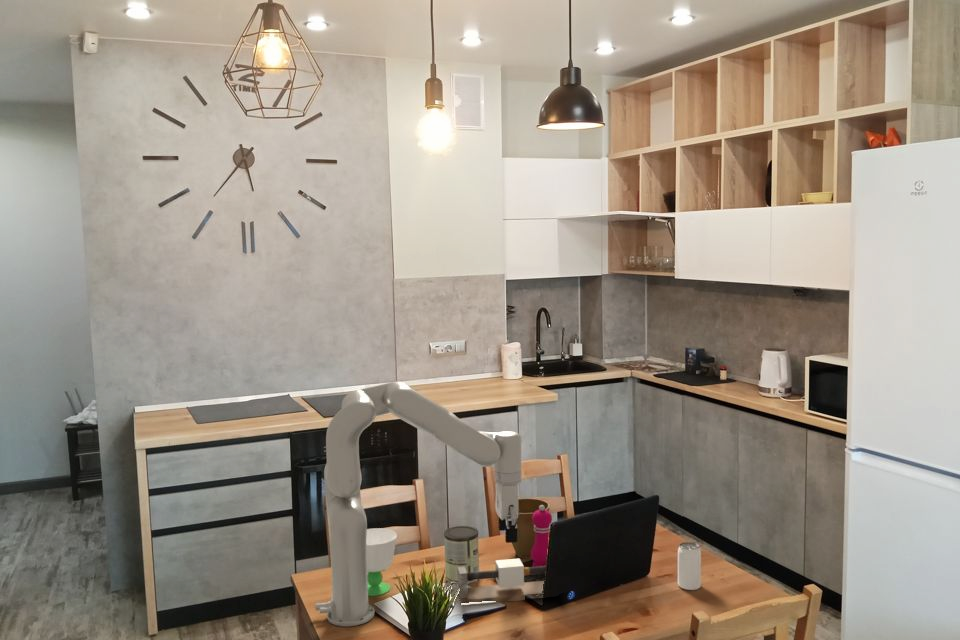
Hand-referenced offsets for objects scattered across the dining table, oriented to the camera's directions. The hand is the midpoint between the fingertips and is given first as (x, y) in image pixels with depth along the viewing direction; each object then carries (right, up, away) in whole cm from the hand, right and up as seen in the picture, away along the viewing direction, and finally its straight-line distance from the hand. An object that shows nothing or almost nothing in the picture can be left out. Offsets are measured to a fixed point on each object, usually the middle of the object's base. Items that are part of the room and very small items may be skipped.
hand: (507, 536), depth 225 cm
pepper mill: (+11, -16, +20) cm, 28 cm away
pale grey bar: (0, -17, +2) cm, 17 cm away
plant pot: (+7, -15, +32) cm, 36 cm away
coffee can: (-13, -17, +14) cm, 26 cm away
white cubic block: (+1, -13, +1) cm, 14 cm away
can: (+52, -16, +5) cm, 55 cm away
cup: (-38, -18, +7) cm, 43 cm away
